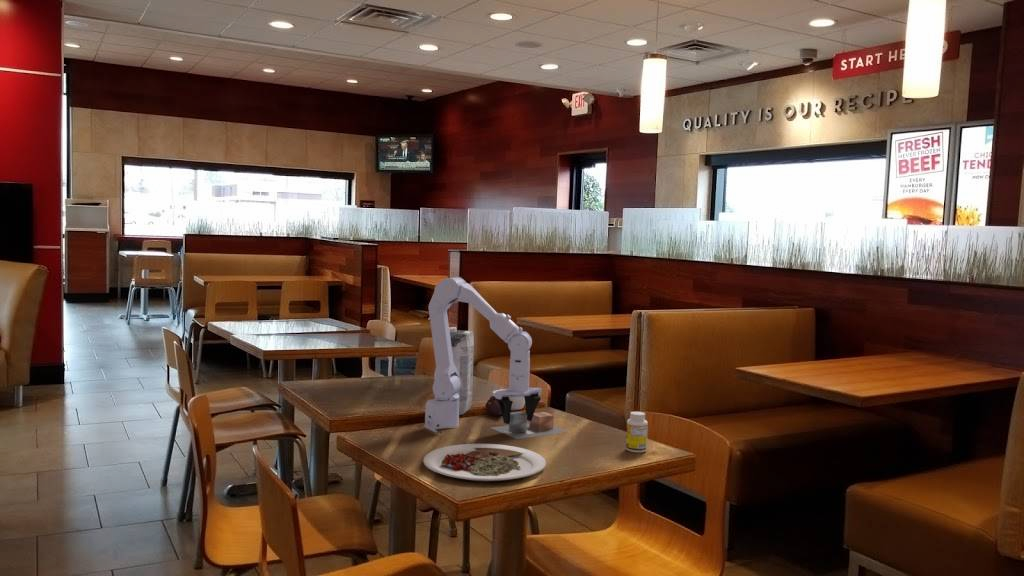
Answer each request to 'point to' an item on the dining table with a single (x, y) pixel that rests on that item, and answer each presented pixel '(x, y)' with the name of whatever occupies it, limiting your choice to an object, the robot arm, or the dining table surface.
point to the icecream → (493, 407)
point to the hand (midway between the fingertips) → (517, 421)
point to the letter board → (528, 431)
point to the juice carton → (463, 364)
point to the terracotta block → (542, 421)
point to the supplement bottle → (636, 432)
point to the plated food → (483, 462)
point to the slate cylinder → (518, 422)
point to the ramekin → (515, 401)
